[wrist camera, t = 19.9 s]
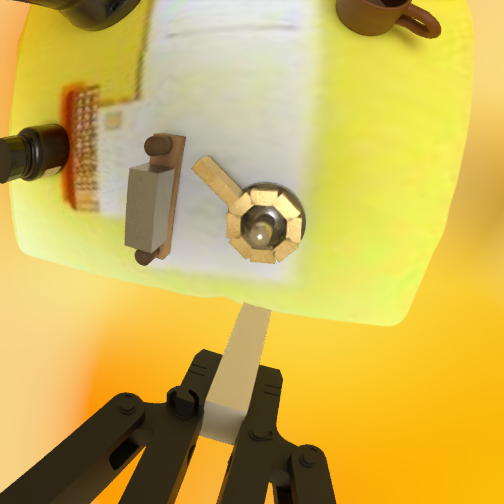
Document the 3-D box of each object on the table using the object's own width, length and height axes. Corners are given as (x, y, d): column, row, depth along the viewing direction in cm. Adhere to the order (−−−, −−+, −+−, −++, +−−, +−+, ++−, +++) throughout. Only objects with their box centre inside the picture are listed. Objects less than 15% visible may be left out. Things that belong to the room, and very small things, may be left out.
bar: (166, 240, 40) (151, 253, 36) (141, 233, 40) (124, 245, 36) (175, 168, 36) (158, 173, 31) (148, 163, 36) (129, 168, 32)
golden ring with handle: (264, 269, 40) (260, 280, 37) (182, 185, 37) (171, 190, 35) (316, 226, 37) (317, 235, 34) (229, 135, 34) (222, 135, 31)
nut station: (223, 245, 41) (207, 266, 35) (237, 174, 37) (222, 183, 31) (294, 264, 40) (291, 289, 34) (314, 193, 36) (316, 207, 30)
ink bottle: (34, 164, 42) (-15, 179, 31) (43, 118, 38) (-9, 125, 27) (66, 181, 42) (14, 199, 31) (76, 131, 38) (20, 139, 27)
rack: (149, 246, 43) (131, 261, 38) (162, 133, 36) (142, 134, 31) (169, 252, 43) (153, 268, 38) (185, 136, 36) (167, 138, 31)
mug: (429, 32, 25) (459, 10, 16) (406, 69, 28) (434, 52, 19) (351, -19, 24) (360, -54, 15) (324, 16, 27) (328, -16, 18)
